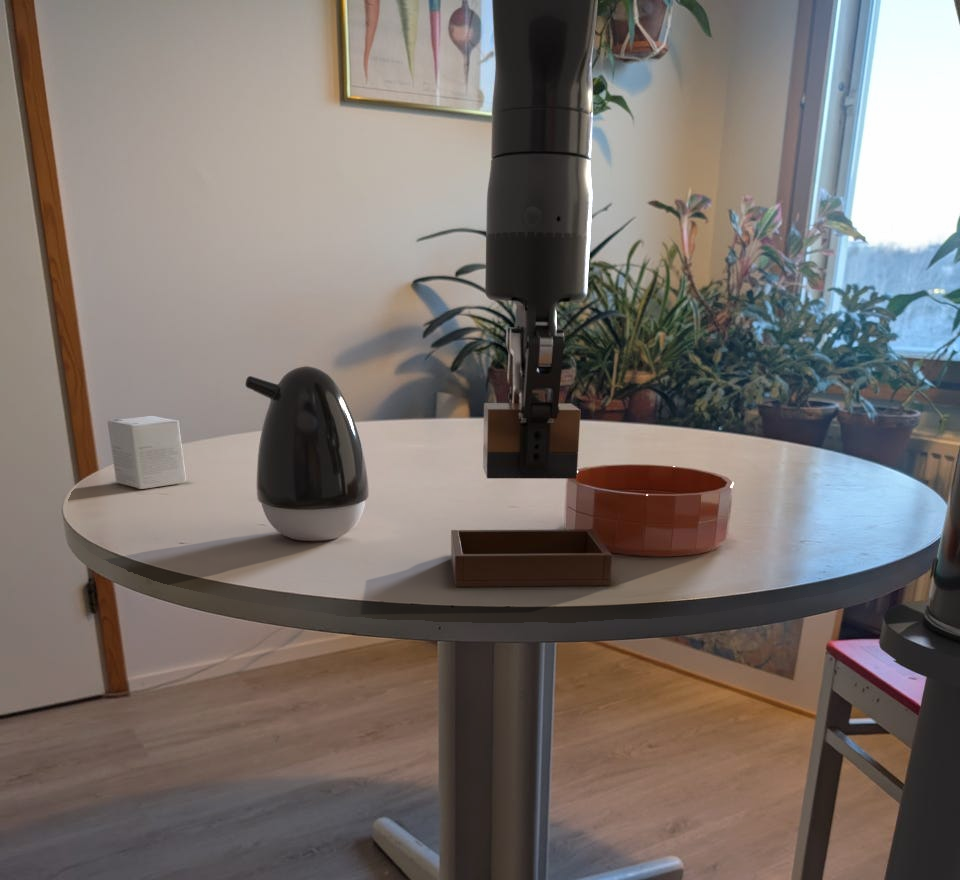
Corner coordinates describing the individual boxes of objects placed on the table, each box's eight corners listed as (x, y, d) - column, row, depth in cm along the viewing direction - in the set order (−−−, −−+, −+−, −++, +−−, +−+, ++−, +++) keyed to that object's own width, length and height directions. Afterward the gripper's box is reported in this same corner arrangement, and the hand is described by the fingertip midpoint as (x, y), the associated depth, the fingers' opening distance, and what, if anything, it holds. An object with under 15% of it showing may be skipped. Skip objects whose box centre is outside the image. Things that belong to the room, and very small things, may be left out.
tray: (590, 557, 77) (592, 529, 77) (610, 585, 70) (612, 554, 69) (451, 558, 77) (451, 529, 76) (455, 587, 69) (455, 556, 68)
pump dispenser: (255, 524, 87) (242, 362, 81) (362, 519, 89) (356, 361, 84) (259, 552, 78) (245, 371, 72) (378, 545, 80) (372, 370, 75)
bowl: (752, 533, 86) (759, 477, 84) (681, 568, 75) (687, 503, 73) (614, 510, 95) (618, 458, 93) (533, 538, 83) (534, 479, 81)
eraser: (568, 468, 73) (571, 403, 71) (576, 478, 69) (580, 409, 67) (482, 468, 72) (484, 402, 70) (486, 478, 68) (488, 409, 66)
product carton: (187, 483, 106) (180, 419, 103) (138, 490, 101) (130, 424, 99) (162, 476, 109) (154, 415, 107) (114, 482, 105) (105, 419, 103)
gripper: (609, 225, 58) (593, 486, 64) (573, 238, 71) (562, 453, 77) (494, 222, 57) (489, 486, 63) (479, 236, 71) (476, 453, 77)
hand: (529, 467), depth 70 cm, fingers closed on eraser, 4 cm apart
